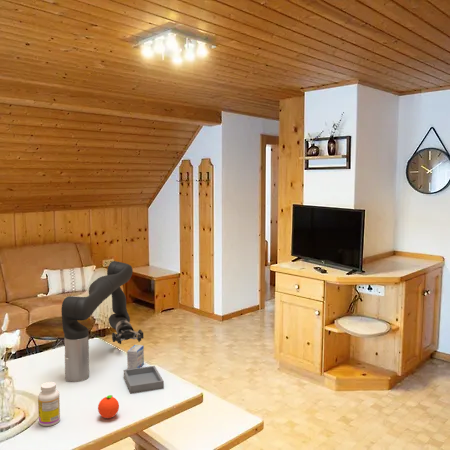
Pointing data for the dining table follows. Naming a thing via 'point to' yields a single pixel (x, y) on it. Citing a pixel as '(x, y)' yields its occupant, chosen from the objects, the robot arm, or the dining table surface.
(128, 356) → the medicine box
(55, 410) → the supplement bottle
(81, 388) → the dining table surface
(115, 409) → the clementine
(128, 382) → the tray
